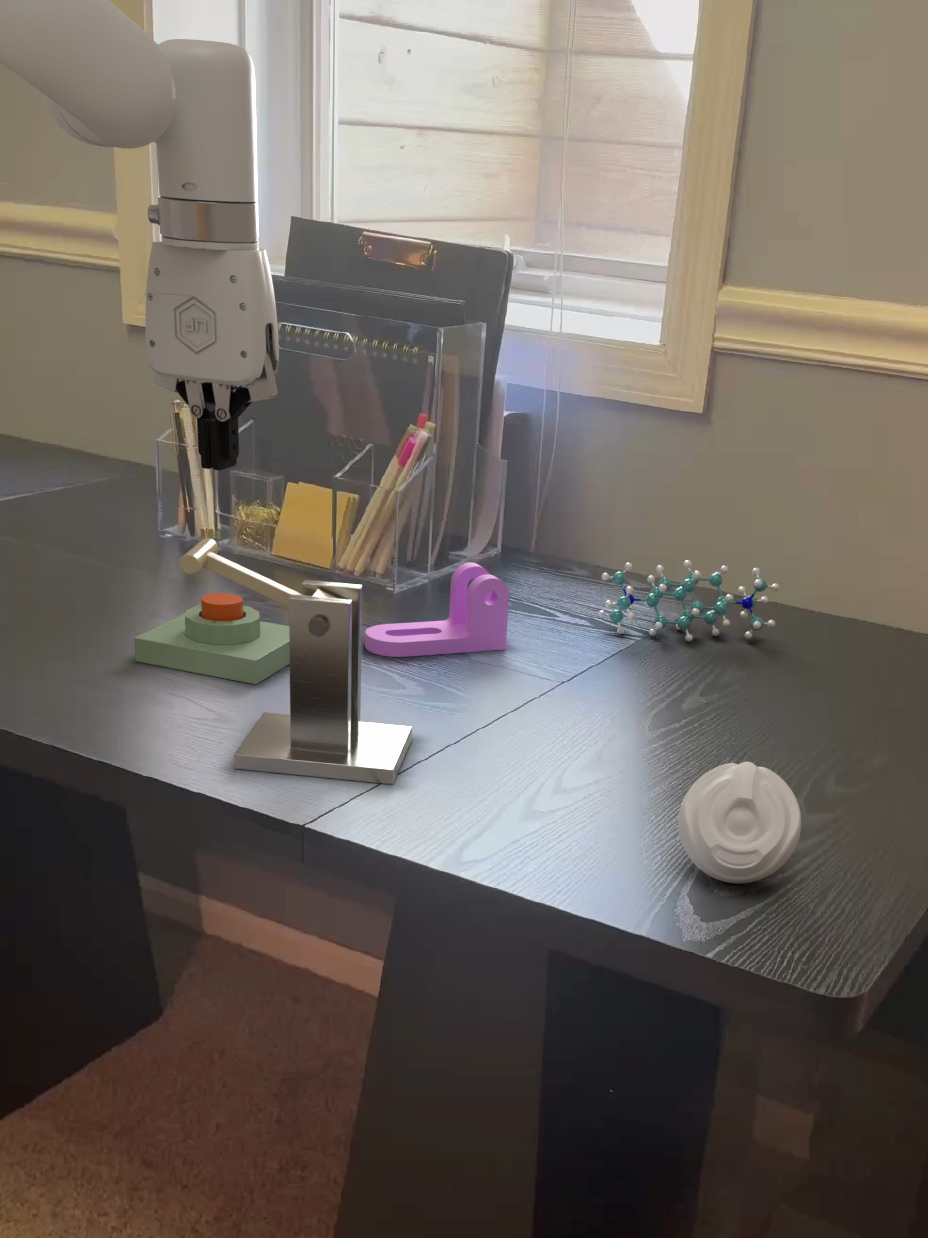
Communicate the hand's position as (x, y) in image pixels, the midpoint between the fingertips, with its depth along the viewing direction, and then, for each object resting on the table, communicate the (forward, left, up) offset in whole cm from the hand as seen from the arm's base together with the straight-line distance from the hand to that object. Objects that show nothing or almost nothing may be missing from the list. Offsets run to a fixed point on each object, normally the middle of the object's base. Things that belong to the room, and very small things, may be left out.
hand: (219, 466), depth 116 cm
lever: (+13, -17, -5) cm, 22 cm away
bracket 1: (+18, -16, -17) cm, 29 cm away
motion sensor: (+51, -22, -17) cm, 58 cm away
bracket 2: (+15, +13, -17) cm, 26 cm away
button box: (0, 0, -17) cm, 17 cm away
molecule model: (+36, +29, -17) cm, 49 cm away
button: (0, 0, -13) cm, 13 cm away
